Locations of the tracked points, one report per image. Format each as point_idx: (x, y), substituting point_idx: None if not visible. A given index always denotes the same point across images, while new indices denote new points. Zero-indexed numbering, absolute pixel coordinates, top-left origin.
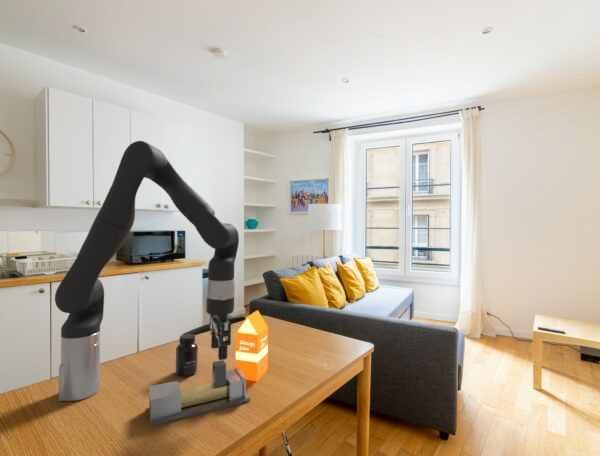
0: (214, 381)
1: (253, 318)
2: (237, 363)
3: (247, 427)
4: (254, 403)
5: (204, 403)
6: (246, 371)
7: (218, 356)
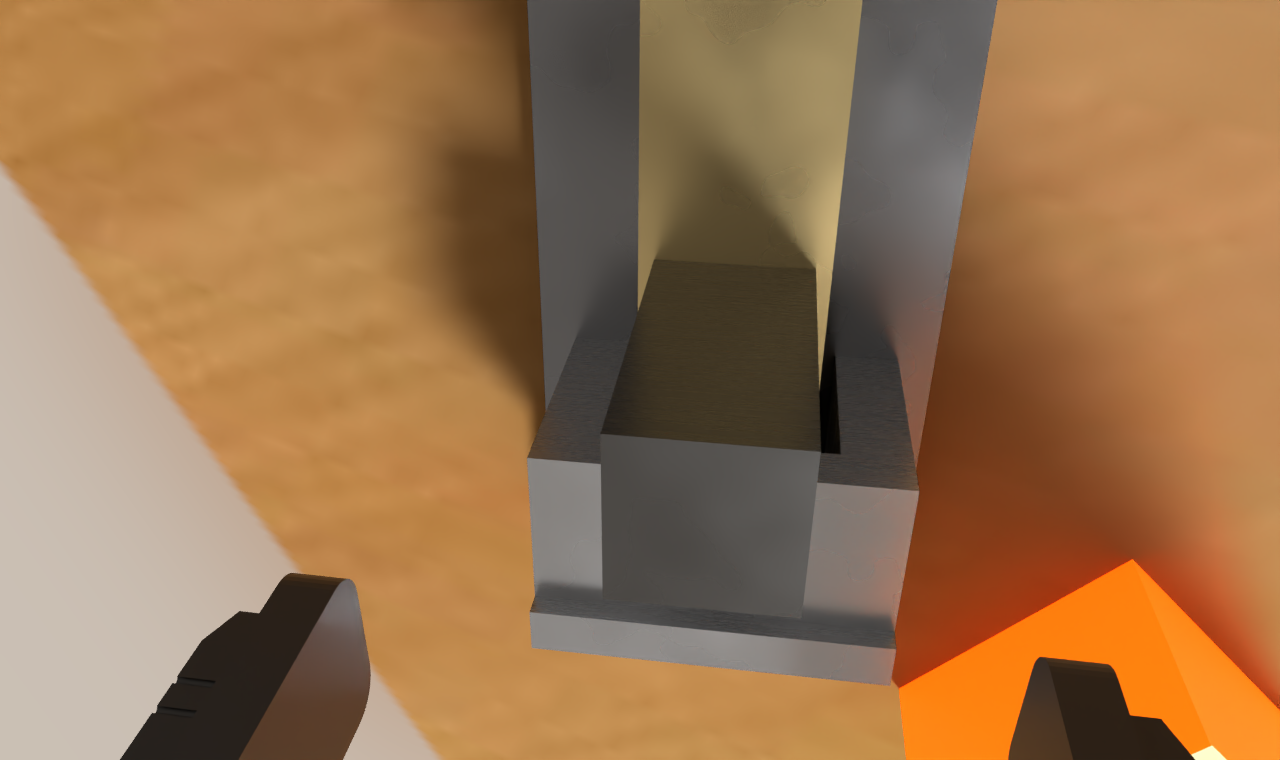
0: (671, 299)
1: None
2: (1165, 712)
3: (154, 328)
4: (506, 515)
5: None
6: None
7: (308, 610)
